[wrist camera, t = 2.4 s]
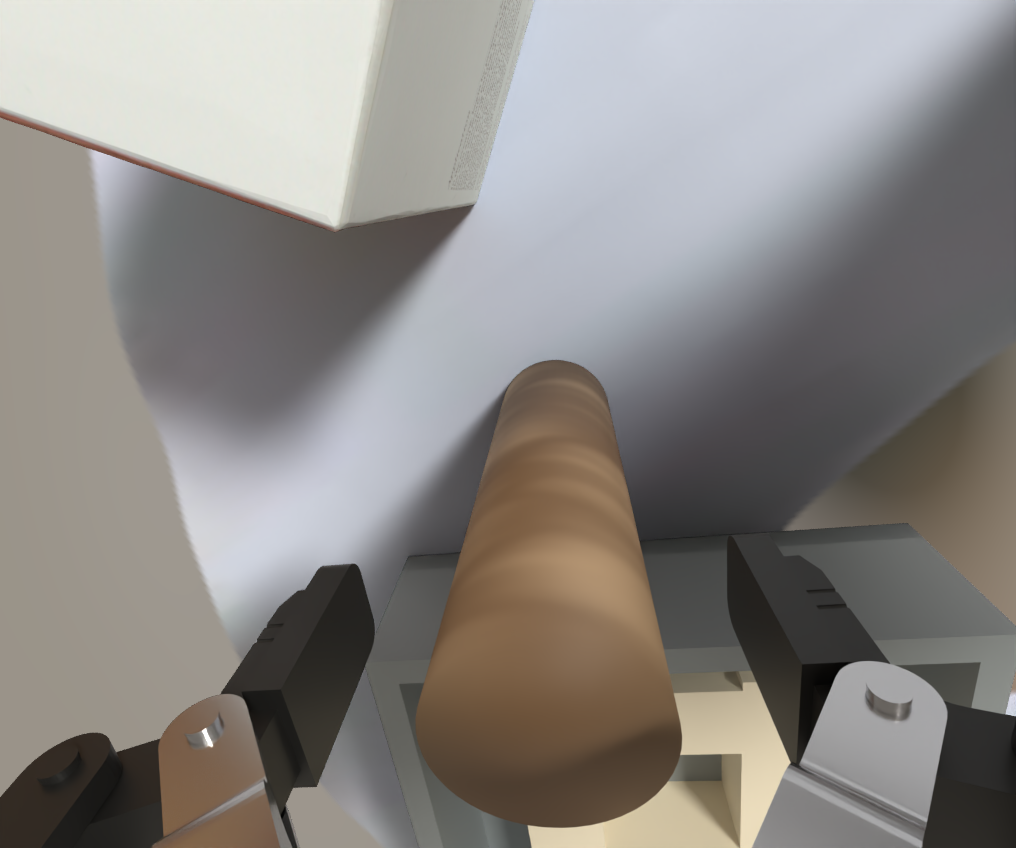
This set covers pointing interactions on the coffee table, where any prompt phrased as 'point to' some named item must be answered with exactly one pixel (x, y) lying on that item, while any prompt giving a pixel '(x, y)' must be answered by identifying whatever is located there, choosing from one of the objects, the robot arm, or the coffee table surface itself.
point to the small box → (275, 95)
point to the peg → (551, 625)
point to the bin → (706, 681)
